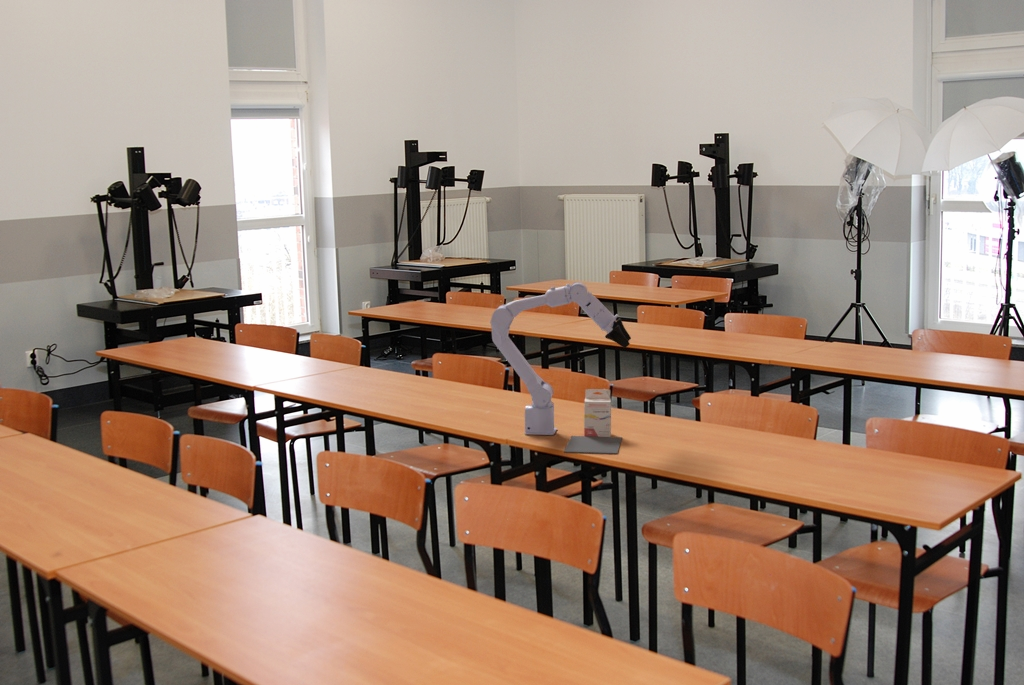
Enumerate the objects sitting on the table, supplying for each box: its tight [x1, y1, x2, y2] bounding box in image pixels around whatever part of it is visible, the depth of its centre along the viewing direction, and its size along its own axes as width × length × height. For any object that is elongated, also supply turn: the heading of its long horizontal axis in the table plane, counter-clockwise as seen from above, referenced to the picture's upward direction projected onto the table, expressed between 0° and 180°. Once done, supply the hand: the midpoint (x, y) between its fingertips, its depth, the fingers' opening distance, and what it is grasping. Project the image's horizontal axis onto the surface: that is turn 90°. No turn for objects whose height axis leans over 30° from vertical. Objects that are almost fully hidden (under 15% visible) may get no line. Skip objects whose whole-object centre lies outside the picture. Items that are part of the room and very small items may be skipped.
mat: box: [563, 435, 623, 455], centre depth 303 cm, size 16×18×1 cm
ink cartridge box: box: [583, 388, 612, 437], centre depth 314 cm, size 9×5×15 cm, turn 84°
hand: (628, 343), depth 312 cm, fingers open, 7 cm apart
